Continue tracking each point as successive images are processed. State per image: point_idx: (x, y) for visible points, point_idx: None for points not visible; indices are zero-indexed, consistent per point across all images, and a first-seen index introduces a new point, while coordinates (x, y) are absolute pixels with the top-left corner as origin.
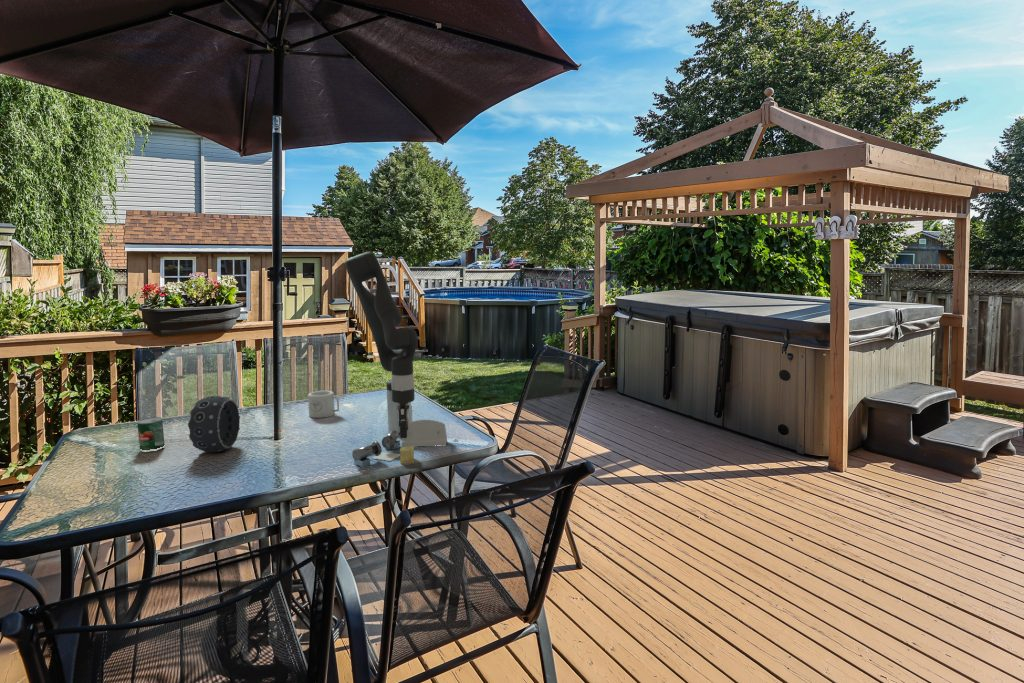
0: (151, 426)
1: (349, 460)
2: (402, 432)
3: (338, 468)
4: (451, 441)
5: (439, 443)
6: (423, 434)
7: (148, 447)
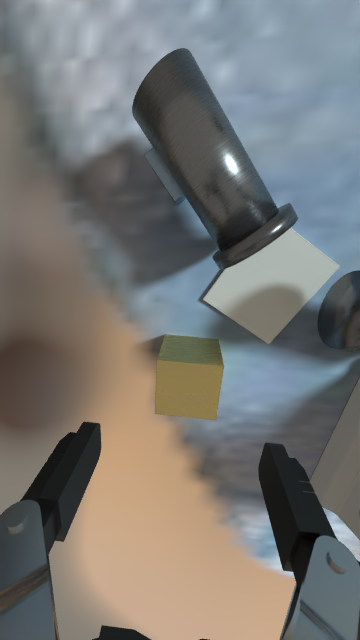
0: None
1: (287, 72)
2: (48, 469)
3: (168, 5)
4: None
5: (322, 481)
6: None
7: None
